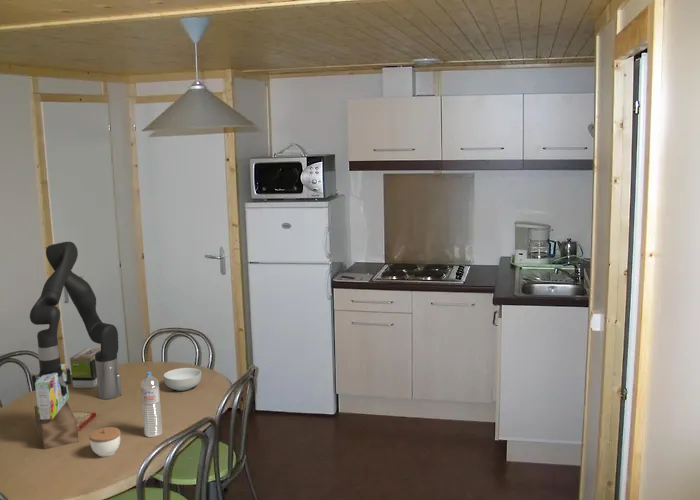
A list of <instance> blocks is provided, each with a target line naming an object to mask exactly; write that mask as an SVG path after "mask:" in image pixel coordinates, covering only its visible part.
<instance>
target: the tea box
mask: <svg viewBox="0 0 700 500" xmlns="http://www.w3.org/2000/svg"><path fill="white" fill-rule="evenodd" d="M99 351H101V347H100V348H90V347H89V348H88V347H87V348H84V349H83V350H81V351H79V352H78V353H76V354H74V355H73V356H71V357H69V362H70V363H69V364H70V373H71V382H72V387H73V388H74V389H75V388H77V389H82V388H83V389H93V388H94V387H96V386H98V385H97V374H96V362H95V354H96V353H97V352H99Z"/></svg>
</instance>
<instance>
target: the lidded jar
mask: <svg viewBox="0 0 700 500" xmlns="http://www.w3.org/2000/svg"><path fill="white" fill-rule="evenodd" d="M88 437H89V445H90V447H91V450H92V451H93V453H95V454H96V455H97V456H98V457H101V458H103V457H104V458H105V457H110V456H113V455H115V453H116V451H117V450H118V449H119V447H120V443H121V430H120V429H119V428H118V427H112V426H111V427H109V426H107V427H101V428H98V429H95V430H93V431H92V432H90V434H89V435H88Z"/></svg>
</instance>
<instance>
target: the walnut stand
mask: <svg viewBox="0 0 700 500" xmlns="http://www.w3.org/2000/svg"><path fill="white" fill-rule="evenodd" d="M34 415H35V425H36V428H37V431H38V434H39V437H40V440H41V443H42V446H43V449H44V450H47V449H51V448H56V447H60V446H65V445H69V444H74V443H79V442H80V440H79V431H78V430H79V429H78V422H77V419H76V417H75V415H74V413H73V411H72V409H71V407H70V405H69V403H68V401H67V402H66V403H65V404H64V405H63V407H62V408H61V409H60V410H59V412H58V413H57V414H56V415H55V417H54V418H53V419H50V420H39V416H38V407H37V405H35V406H34Z"/></svg>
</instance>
